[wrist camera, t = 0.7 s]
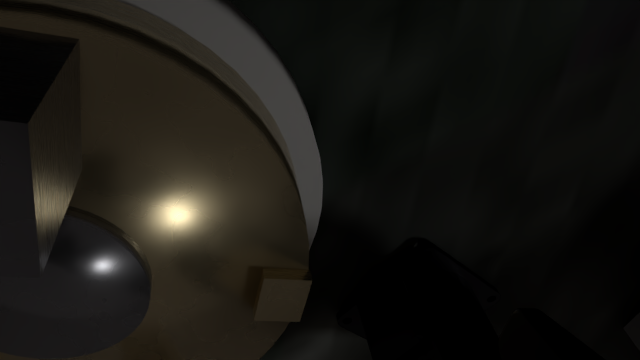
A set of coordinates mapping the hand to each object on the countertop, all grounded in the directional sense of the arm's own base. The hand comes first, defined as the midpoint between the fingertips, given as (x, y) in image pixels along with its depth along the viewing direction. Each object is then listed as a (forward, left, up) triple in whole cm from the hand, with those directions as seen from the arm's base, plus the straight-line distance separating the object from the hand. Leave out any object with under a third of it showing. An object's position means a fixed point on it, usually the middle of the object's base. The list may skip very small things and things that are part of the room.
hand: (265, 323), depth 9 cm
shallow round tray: (+1, +8, -10) cm, 12 cm away
